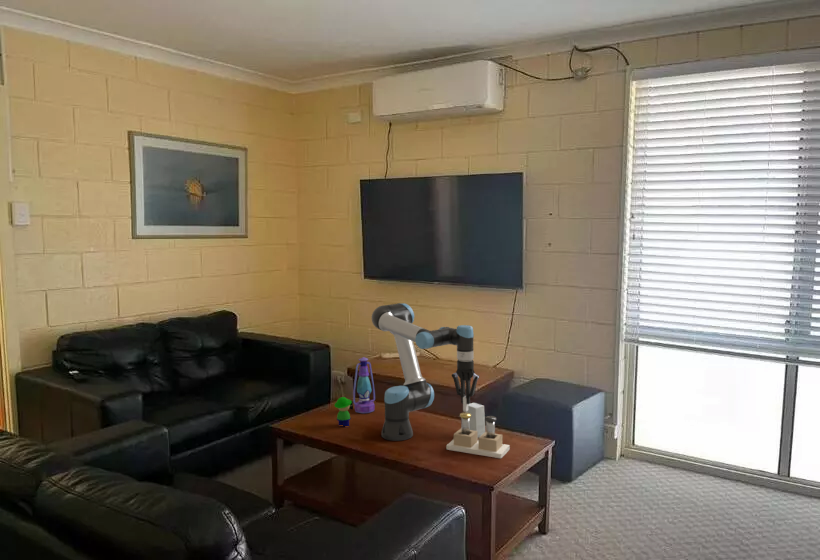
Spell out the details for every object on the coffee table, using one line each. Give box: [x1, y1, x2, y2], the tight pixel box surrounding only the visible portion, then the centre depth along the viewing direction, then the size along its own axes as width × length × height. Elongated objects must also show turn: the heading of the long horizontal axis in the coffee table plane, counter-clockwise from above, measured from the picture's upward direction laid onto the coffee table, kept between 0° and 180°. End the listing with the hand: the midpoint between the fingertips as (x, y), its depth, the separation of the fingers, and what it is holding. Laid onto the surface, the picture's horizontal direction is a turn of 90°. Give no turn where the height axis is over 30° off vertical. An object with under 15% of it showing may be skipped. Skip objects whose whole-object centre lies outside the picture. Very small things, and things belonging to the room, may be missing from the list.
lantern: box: [352, 356, 376, 414], centre depth 342 cm, size 13×12×30 cm
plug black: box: [485, 415, 497, 439], centre depth 280 cm, size 5×5×9 cm
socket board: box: [445, 428, 511, 459], centre depth 283 cm, size 26×12×7 cm, turn 64°
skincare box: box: [465, 402, 486, 439], centre depth 302 cm, size 8×6×15 cm
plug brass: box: [459, 412, 471, 435], centre depth 285 cm, size 5×5×9 cm
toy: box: [333, 396, 354, 427], centre depth 318 cm, size 9×9×15 cm
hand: (465, 410), depth 284 cm, fingers closed
